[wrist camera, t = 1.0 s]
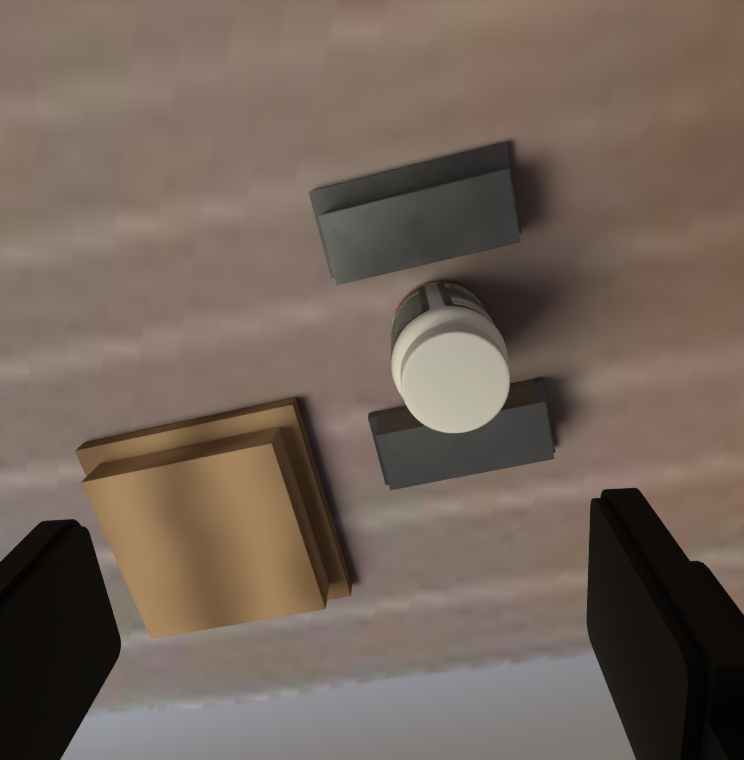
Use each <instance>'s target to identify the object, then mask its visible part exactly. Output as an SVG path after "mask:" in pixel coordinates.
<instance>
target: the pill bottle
mask: <svg viewBox="0 0 744 760" xmlns="http://www.w3.org/2000/svg"><path fill="white" fill-rule="evenodd" d="M391 369H392V375H393V379H394V382H395V385H396V387H397V389H398V391H399V393H400V395H401V396H402V397H403V399H404V401H405V404H406V406H407V407H408V409H409V410H410V412H411V413H412V414H413V416H414V417H415V418H416V419H417V420H419V421H420V422H421V423H422V424H424V425H426V426H428V427H429V428H431V429H434V430H437V431H440V432H445V433H463V432H468V431H472V430H474V429H477V428H479V427H481V426H483V425H485V424H486V423H488V422H489V421H490V420H492V419H493V418H494V417H495V416H496V415H497V414H498V412H499V411H500V410H501V408H502V407H503V405H504V403H505V401H506V399H507V396H508V393H509V388H510V374H509V368H508V353H507V349H506V345H505V342H504V340H503V337H502V335H501V333H500V332H499V330H498V328H497V327H496V326H495V324H494V323H493V321H492V319H491V318H490V316H489V315H488V313H487V312H486V310H485V309H484V307H483V305H482V303H481V302H480V301H479V300H478V298H477V297H476V296H475V295H474V294H473V293H471V292H470V291H469V290H468V289H466V288H464V287H463V286H460V285H458V284H455V283H451V282H432V283H427V284H424V285H421V286H419V287H417V288H416V289H414V290H412V291H411V292H410V293H409V294H407V295H406V296H405V297H404V298H403V300H402V301H401V302H400V304H399V305H398V307H397V309H396V311H395V314H394V317H393V321H392V328H391Z"/></svg>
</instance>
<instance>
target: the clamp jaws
mask: <svg viewBox="0 0 744 760" xmlns="http://www.w3.org/2000/svg"><path fill="white" fill-rule="evenodd" d="M309 195H310V199H311V202H312V206H313V210H314V214H315V218H316V221H317V225H318V229H319V233H320V237H321V240H322V244H323V248H324V252H325V256H326V259H327V263H328V267H329V271H330V275H331V278H333V277H335V280H336V284H337V285H339V284H343V283H348V282H352V281H356V280H361V279H365V278H369V277H373V276H378V275H382V274H386V273H390V272H395V271H399V270H403V269H408V268H412V267H416V266H420V265H425V264H429V263H433V262H438V261H442V260H446V259H450V258H455V257H459V256H463V255H467V254H472V253H476V252H480V251H485V250H489V249H493V248H497V247H502V246H506V245H510V244H515V243H519V242H520V237H519V233H521V229H520V222H519V216H518V209H517V203H516V197H515V190H514V184H513V177H512V171H511V164H510V158H509V151H508V145H507V142H503V143H499V144H495V145H491V146H487V147H483V148H479V149H475V150H471V151H468V152H464V153H460V154H456V155H452V156H448V157H444V158H440V159H436V160H432V161H428V162H424V163H420V164H416V165H412V166H408V167H404V168H401V169H397V170H393V171H389V172H385V173H381V174H377V175H373V176H369V177H365V178H361V179H357V180H353V181H349V182H345V183H341V184H337V185H333V186H330V187H326V188H322V189H318V190H314V191H310V192H309ZM368 419H369V423H370V427H371V431H372V434H373V438H374V442H375V446H376V450H377V453H378V457H379V461H380V465H381V469H382V472H383V476H384V480H385V484H386V485H389V487H390V490H394V489H399V488H404V487H410V486H415V485H420V484H425V483H430V482H436V481H441V480H446V479H451V478H457V477H462V476H467V475H472V474H478V473H483V472H488V471H493V470H498V469H504V468H509V467H514V466H519V465H525V464H530V463H535V462H540V461H546V460H551V459H554V454H553V453H555V448H554V441H553V435H552V428H551V422H550V416H549V409H548V403H547V396H546V390H545V383H544V381H543V379H542V378H537V379H532V380H527V381H523V382H518V383H513V384H510V388H509V393H508V396H507V399H506V401H505V403H504V405H503V407H502V408H501V410H500V411H499V412H498V414H497V415H496V416H495V417H494V418H493V419H492V420H490V421H489V422H488V423H486V424H485V425H483V426H481V427H479V428H477V429H474V430H472V431H468V432H463V433H445V432H440V431H437V430H434V429H431V428H429V427H428V426H426V425H424V424H422V423H421V422H420V421H419V420H417V419H416V418H415V417H414V416H413V414H412V413H411V412H410V410H409V409H408V407H407V406H402V407H397V408H392V409H387V410H383V411H378V412H373V413H369V415H368Z"/></svg>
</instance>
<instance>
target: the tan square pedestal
mask: <svg viewBox="0 0 744 760" xmlns="http://www.w3.org/2000/svg"><path fill="white" fill-rule="evenodd" d="M75 452H76V454H77V456H78V459H79V461H80V463H81V465H82V468H83V470H84V472H85V474H86V478H85V479H84V480H83V481H82V482H81V483H82V486H83V488H84V490H85V492H86V494H87V497H88V499H89V501H90V503H91V506H92V508H93V510H94V512H95V514H96V517H97V519H98V521H99V523H100V526H101V528H102V530H103V532H104V534H105V537H106V539H107V541H108V543H109V546H110V548H111V550H112V552H113V554H114V557H115V559H116V561H117V563H118V566H119V568H120V570H121V572H122V574H123V577H124V579H125V581H126V583H127V586H128V588H129V590H130V592H131V594H132V597H133V599H134V601H135V603H136V606H137V608H138V610H139V612H140V614H141V617H142V619H143V621H144V623H145V626H146V628H147V630H148V632H149V634H150V637H151V639H152V638H158V637H164V636H170V635H176V634H182V633H187V632H193V631H199V630H205V629H211V628H217V627H223V626H229V625H234V624H240V623H246V622H252V621H258V620H264V619H270V618H276V617H281V616H287V615H293V614H299V613H305V612H311V611H317V610H323V609H326V602H327V600H329V599H334V598H340V597H346V596H351V589H352V582H351V579H350V576H349V572H348V569H347V566H346V562H345V559H344V556H343V552H342V549H341V546H340V543H339V539H338V536H337V533H336V529H335V526H334V523H333V519H332V516H331V513H330V509H329V506H328V503H327V500H326V496H325V493H324V490H323V486H322V483H321V480H320V476H319V473H318V470H317V466H316V463H315V460H314V456H313V453H312V450H311V447H310V443H309V440H308V437H307V433H306V430H305V427H304V423H303V420H302V417H301V413H300V410H299V407H298V404H297V400H296V398H291V399H286V400H282V401H277V402H272V403H267V404H263V405H258V406H253V407H249V408H244V409H239V410H235V411H230V412H225V413H221V414H216V415H211V416H207V417H202V418H197V419H192V420H188V421H183V422H178V423H174V424H169V425H164V426H160V427H155V428H150V429H146V430H141V431H136V432H132V433H127V434H122V435H117V436H113V437H108V438H103V439H99V440H94V441H89V442H85V443H83V444H82V445H81V446H80V447H79V448H78V449H77V450H75Z"/></svg>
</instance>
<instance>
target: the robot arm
mask: <svg viewBox="0 0 744 760" xmlns="http://www.w3.org/2000/svg"><path fill="white" fill-rule="evenodd" d="M587 629H588V634H589V639H590V642H591V644H592V647H593V650H594V652H595V655H596V657H597V660H598V662H599V665H600V667H601V670H602V672H603V675H604V678H605V680H606V683H607V685H608V688H609V691H610V693H611V696H612V698H613V701H614V703H615V706H616V709H617V711H618V714H619V716H620V719H621V722H622V724H623V727H624V729H625V732H626V735H627V737H628V739H629V742H630V745H631V747H632V750H633V753H634V755H635V758H636V760H744V615H743V614H742V612H741V611H740V609H739V608H738V607H737V605H736V604H735V603H734V601H733V600H732V599H731V597H730V596H729V595H728V593H727V592H726V591H725V589H724V588H723V587H722V585H721V584H720V583H719V581H718V580H717V579H716V577H715V576H714V575H713V573H712V572H711V571H710V569H709V568H708V567H707V566H706V565H705V564H704V563H702V562H699V561H690V560H689V559H688V558H687V556H686V555H685V553H684V552H683V551H682V549H681V548H680V546H679V545H678V544H677V542H676V541H675V539H674V538H673V537H672V535H671V534H670V532H669V531H668V530H667V528H666V527H665V525H664V524H663V523H662V521H661V520H660V518H659V517H658V516H657V514H656V513H655V511H654V510H653V509H652V507H651V506H650V504H649V503H648V502H647V500H646V499H645V497H644V496H643V495H642V493H641V492H640V491H639V490H638V489H637V488H623V489H605V490H603V491H602V493H601V498H593V499H592V500H591V506H590V534H589V564H588V594H587ZM120 649H121V639H120V635H119V631H118V628H117V625H116V621H115V618H114V614H113V611H112V608H111V604H110V601H109V597H108V594H107V591H106V587H105V584H104V581H103V577H102V574H101V570H100V567H99V564H98V560H97V557H96V553H95V550H94V547H93V543H92V540H91V537H90V533H89V531H88V529H87V528H86V527H83V526H81V525H80V524H79V523H78V521H76V520H74V519H69V520H51V521H42V522H41V523H39V524H38V525H37V526H36V527H35V528H34V529H33V530H32V531H31V532H30V533H29V534H28V535H27V536H26V537H25V538H24V539H23V540H22V541H21V542H20V543H19V544H18V545H17V546H16V547H15V548H14V549H13V550H12V551H11V552H10V553H9V554H8V555H7V556H6V557H5V558H4V559H3V560H2V561H1V562H0V760H60V759H61V757H62V756H63V754H64V752H65V750H66V749H67V747H68V745H69V743H70V742H71V740H72V738H73V736H74V735H75V733H76V731H77V729H78V728H79V726H80V724H81V722H82V721H83V719H84V717H85V715H86V714H87V712H88V710H89V708H90V707H91V705H92V703H93V701H94V700H95V698H96V696H97V694H98V693H99V691H100V689H101V687H102V686H103V684H104V682H105V680H106V679H107V677H108V675H109V673H110V672H111V670H112V668H113V666H114V665H115V663H116V661H117V659H118V657H119V654H120Z"/></svg>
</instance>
